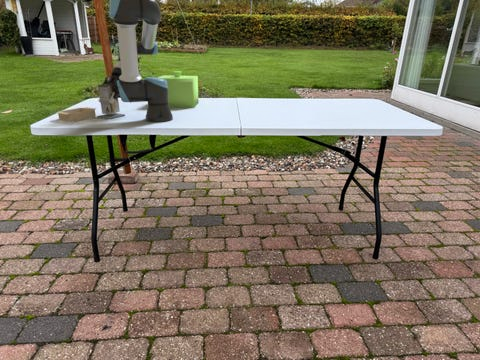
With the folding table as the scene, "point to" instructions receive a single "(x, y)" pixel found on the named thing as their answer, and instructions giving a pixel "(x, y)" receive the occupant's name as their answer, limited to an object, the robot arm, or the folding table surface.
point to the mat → (111, 116)
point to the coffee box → (108, 99)
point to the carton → (77, 114)
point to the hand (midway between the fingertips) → (105, 102)
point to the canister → (182, 90)
